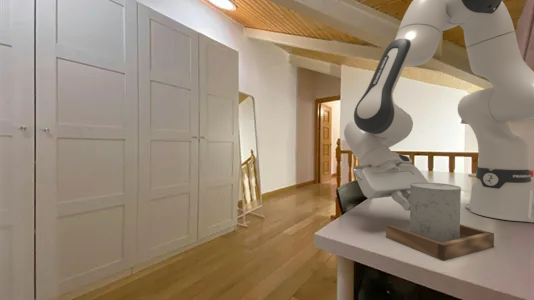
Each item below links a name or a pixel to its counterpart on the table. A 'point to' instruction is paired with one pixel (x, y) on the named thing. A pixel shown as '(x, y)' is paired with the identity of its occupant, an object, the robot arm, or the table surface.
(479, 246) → the walnut corral
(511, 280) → the table surface
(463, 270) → the table surface
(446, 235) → the grey speckled cylinder
